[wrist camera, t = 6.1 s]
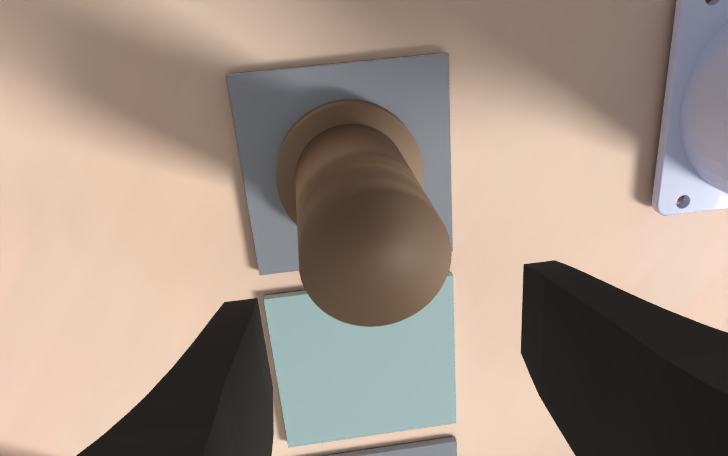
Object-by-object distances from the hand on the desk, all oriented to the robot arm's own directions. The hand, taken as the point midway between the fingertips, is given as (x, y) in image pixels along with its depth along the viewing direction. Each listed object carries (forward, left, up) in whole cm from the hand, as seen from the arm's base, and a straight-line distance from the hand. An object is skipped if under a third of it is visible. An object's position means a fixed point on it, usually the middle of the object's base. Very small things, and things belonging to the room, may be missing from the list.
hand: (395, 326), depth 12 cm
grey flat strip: (0, +16, -10) cm, 19 cm away
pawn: (0, 0, -10) cm, 10 cm away
